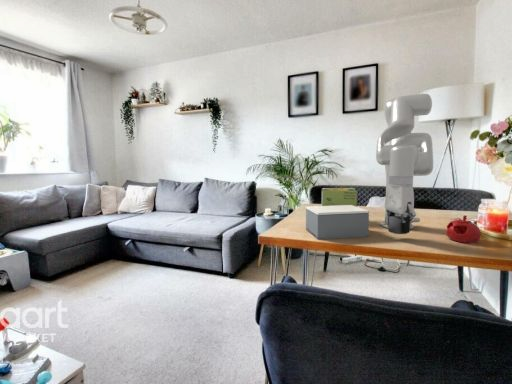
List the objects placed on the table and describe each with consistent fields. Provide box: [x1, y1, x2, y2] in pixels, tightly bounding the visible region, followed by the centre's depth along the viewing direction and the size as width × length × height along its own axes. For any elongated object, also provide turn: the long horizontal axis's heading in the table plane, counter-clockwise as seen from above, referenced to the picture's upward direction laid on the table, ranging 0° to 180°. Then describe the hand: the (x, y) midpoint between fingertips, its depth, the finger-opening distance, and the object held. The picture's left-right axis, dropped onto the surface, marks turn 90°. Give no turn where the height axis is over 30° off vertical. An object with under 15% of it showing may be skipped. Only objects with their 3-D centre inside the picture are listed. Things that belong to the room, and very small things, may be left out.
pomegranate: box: [446, 215, 482, 244], centre depth 94 cm, size 10×10×9 cm
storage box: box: [305, 208, 370, 240], centre depth 106 cm, size 20×14×9 cm
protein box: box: [321, 187, 358, 207], centre depth 127 cm, size 10×15×16 cm
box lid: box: [305, 205, 370, 215], centre depth 106 cm, size 20×14×1 cm
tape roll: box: [387, 216, 408, 235], centre depth 97 cm, size 6×6×5 cm
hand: (398, 229), depth 97 cm, fingers closed on tape roll, 6 cm apart
